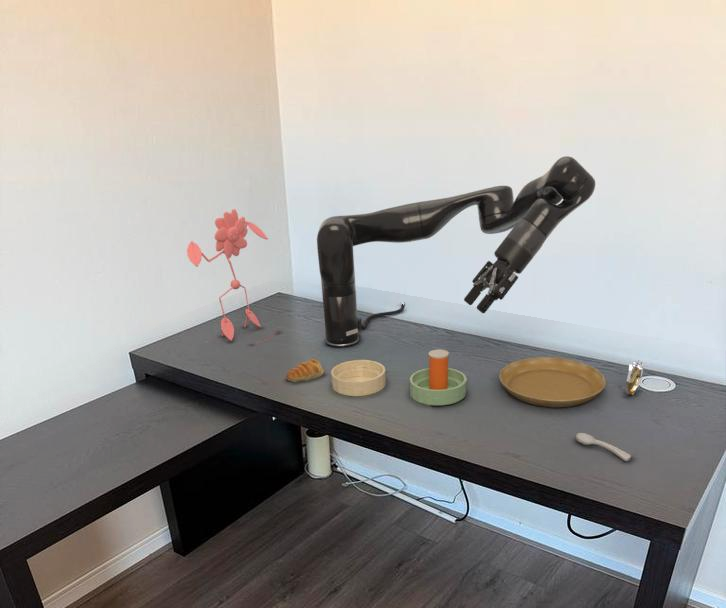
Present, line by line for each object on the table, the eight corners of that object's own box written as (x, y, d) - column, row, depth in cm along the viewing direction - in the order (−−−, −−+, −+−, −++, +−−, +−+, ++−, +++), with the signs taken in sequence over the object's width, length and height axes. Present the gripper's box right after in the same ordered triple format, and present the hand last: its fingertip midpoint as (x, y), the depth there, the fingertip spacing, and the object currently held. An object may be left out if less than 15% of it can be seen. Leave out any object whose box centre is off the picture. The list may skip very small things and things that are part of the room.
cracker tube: (431, 387, 164) (431, 348, 159) (450, 389, 163) (450, 350, 157) (426, 396, 161) (426, 356, 155) (445, 398, 159) (446, 357, 154)
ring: (631, 401, 154) (637, 368, 150) (617, 397, 156) (623, 365, 152) (644, 390, 158) (650, 358, 154) (631, 387, 160) (637, 355, 156)
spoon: (580, 436, 142) (582, 428, 141) (631, 460, 135) (634, 452, 133) (571, 441, 140) (573, 433, 139) (623, 466, 133) (625, 457, 132)
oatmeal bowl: (343, 373, 176) (342, 357, 173) (392, 378, 171) (392, 362, 169) (324, 394, 165) (322, 378, 163) (375, 400, 161) (374, 384, 159)
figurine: (198, 344, 198) (173, 218, 179) (262, 318, 214) (246, 200, 195) (233, 355, 189) (211, 224, 170) (297, 327, 205) (284, 204, 186)
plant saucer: (622, 385, 161) (624, 372, 159) (571, 423, 147) (573, 409, 145) (532, 361, 176) (533, 349, 174) (478, 394, 161) (479, 381, 159)
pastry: (296, 387, 170) (294, 372, 168) (281, 379, 174) (279, 365, 172) (326, 375, 174) (325, 362, 172) (311, 368, 179) (310, 355, 177)
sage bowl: (418, 380, 169) (418, 364, 167) (471, 386, 165) (471, 370, 163) (403, 403, 159) (402, 387, 157) (458, 410, 155) (459, 393, 153)
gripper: (545, 261, 146) (496, 324, 150) (519, 252, 158) (474, 309, 162) (521, 240, 143) (471, 303, 147) (496, 231, 155) (451, 290, 159)
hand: (473, 306), depth 154 cm, fingers open, 8 cm apart
